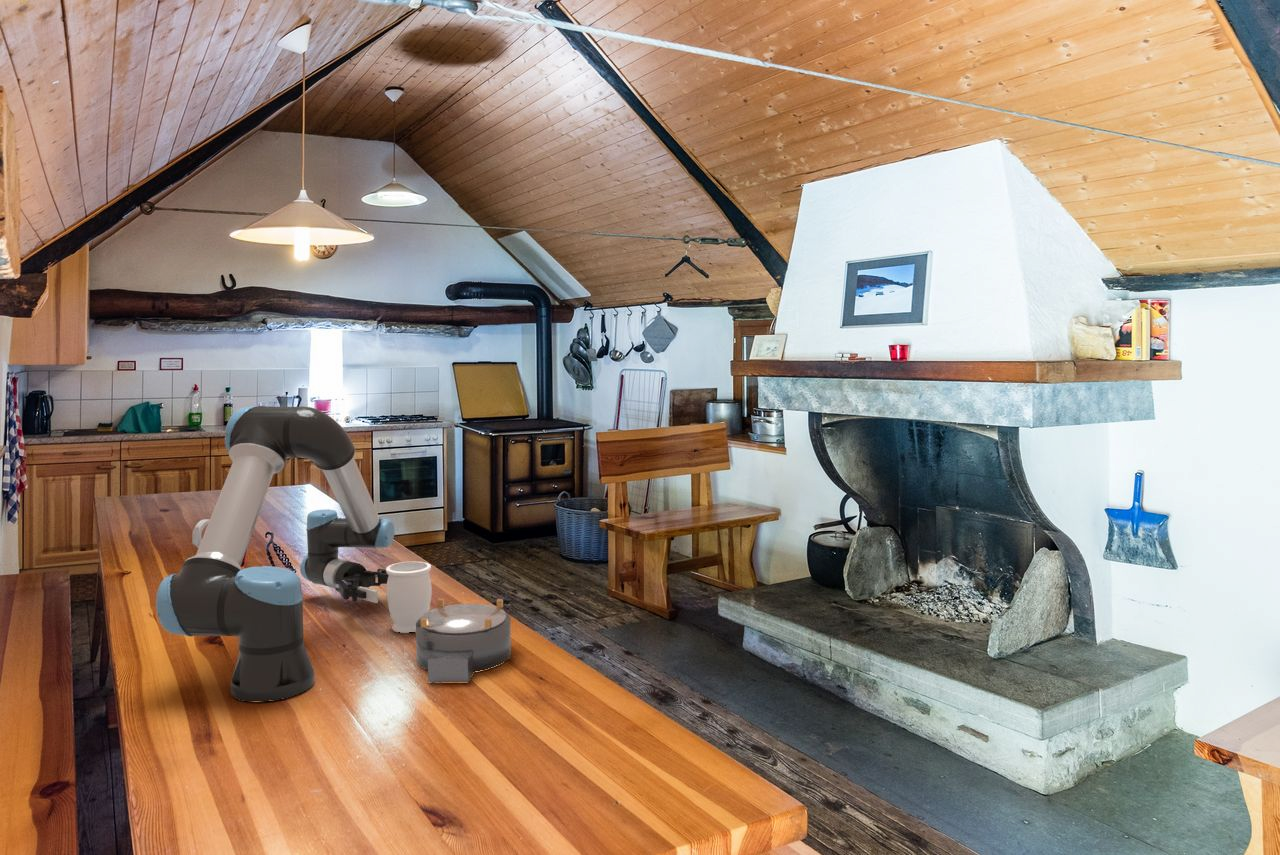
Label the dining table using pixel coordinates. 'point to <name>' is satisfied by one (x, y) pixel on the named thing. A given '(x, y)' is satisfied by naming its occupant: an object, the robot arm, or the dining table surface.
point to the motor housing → (462, 640)
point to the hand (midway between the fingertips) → (400, 590)
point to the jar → (408, 594)
